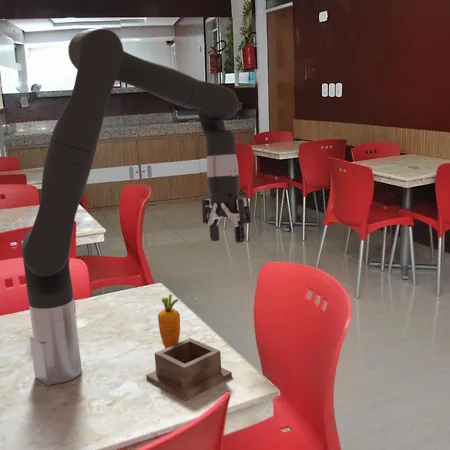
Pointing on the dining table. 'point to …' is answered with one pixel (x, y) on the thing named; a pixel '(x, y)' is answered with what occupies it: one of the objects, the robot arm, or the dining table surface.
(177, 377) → the socket block
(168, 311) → the carrot
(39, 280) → the robot arm
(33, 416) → the dining table surface
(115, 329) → the dining table surface
